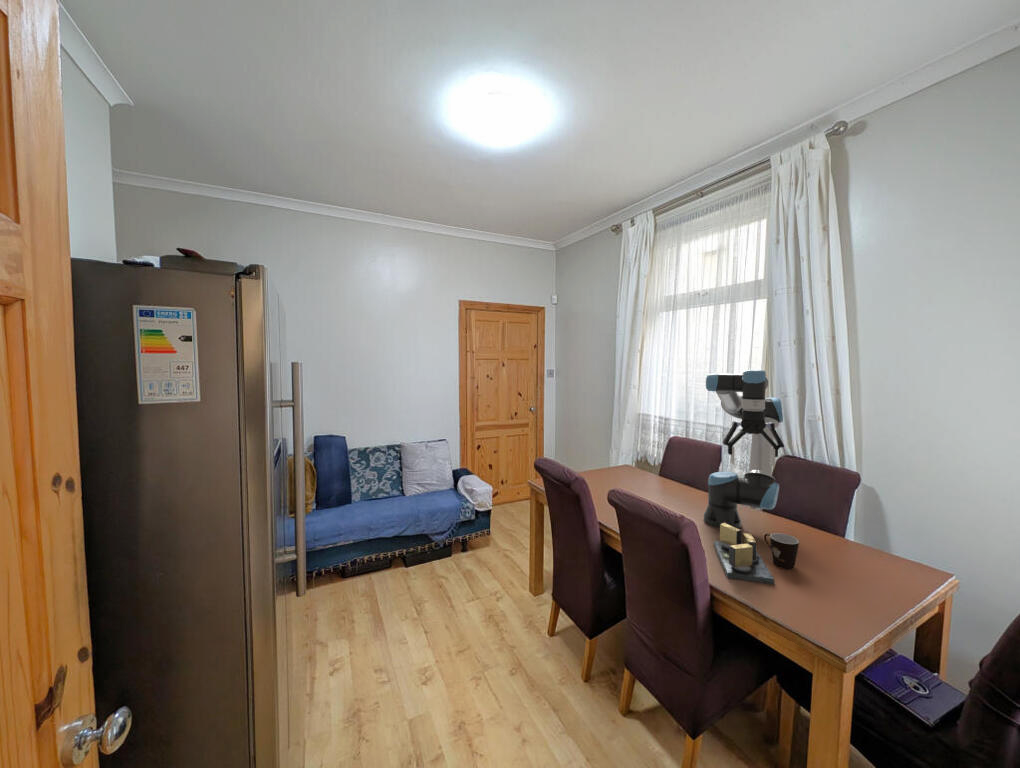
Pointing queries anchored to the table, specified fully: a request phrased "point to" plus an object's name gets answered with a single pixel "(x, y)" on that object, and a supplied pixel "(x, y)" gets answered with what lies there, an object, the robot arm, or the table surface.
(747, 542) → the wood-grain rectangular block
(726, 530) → the tan block-handled knob
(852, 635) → the table surface
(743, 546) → the tan bar handle
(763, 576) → the levelling plate
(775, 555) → the coffee mug
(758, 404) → the robot arm
